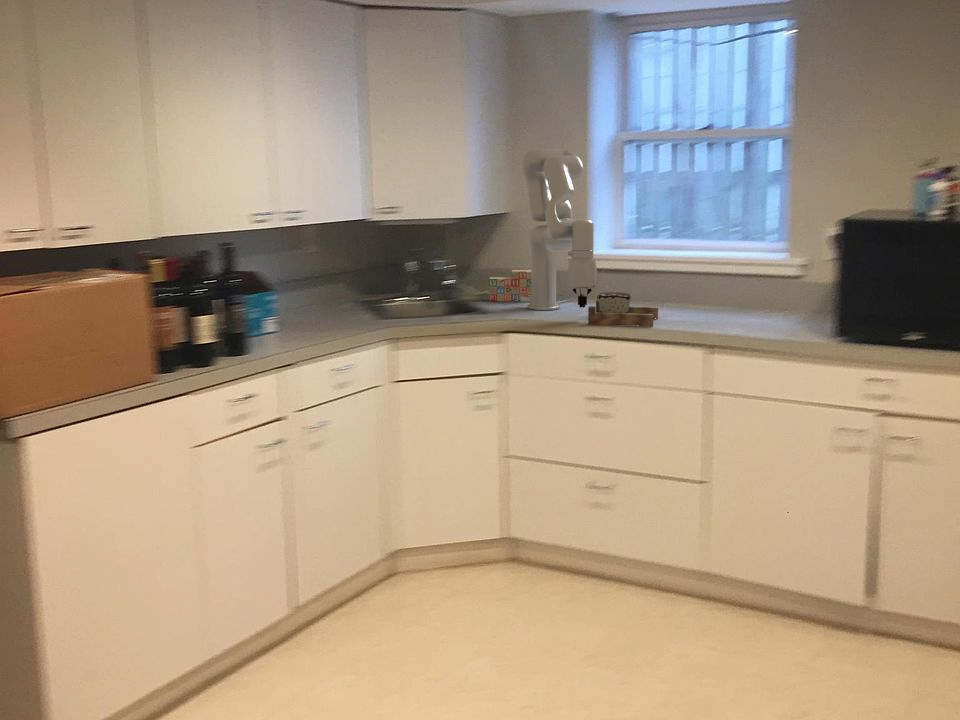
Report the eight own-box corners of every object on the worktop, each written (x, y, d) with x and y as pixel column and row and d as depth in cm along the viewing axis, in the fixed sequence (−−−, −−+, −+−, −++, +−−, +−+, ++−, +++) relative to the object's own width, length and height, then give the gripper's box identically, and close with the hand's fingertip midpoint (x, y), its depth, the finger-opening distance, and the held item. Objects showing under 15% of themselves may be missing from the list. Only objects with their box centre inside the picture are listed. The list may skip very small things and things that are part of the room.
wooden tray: (588, 324, 344) (588, 307, 342) (597, 316, 363) (597, 299, 362) (652, 326, 338) (652, 309, 337) (658, 318, 357) (658, 301, 356)
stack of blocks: (488, 301, 403) (488, 271, 401) (489, 299, 410) (489, 269, 407) (541, 301, 402) (541, 271, 400) (542, 299, 408) (542, 269, 406)
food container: (634, 320, 352) (634, 292, 350) (631, 323, 346) (631, 294, 344) (600, 319, 356) (600, 291, 354) (596, 321, 350) (596, 293, 348)
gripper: (559, 255, 348) (559, 308, 351) (602, 256, 344) (601, 308, 347) (563, 254, 355) (563, 305, 358) (605, 254, 351) (604, 306, 354)
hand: (582, 306), depth 353 cm, fingers closed
